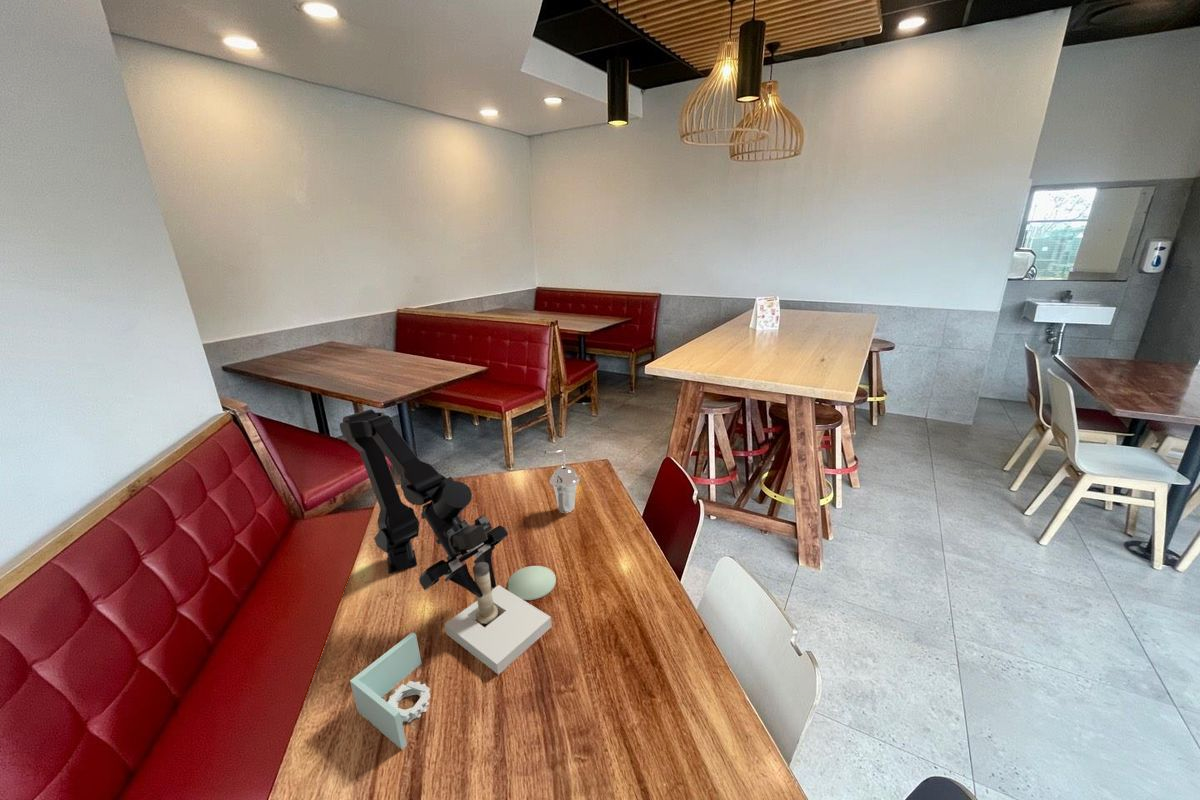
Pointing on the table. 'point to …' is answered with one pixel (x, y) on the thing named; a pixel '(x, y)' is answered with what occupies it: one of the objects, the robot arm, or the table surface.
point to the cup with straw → (564, 485)
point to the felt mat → (532, 582)
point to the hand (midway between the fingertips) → (488, 592)
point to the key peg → (484, 594)
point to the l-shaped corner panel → (382, 680)
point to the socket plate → (499, 630)
